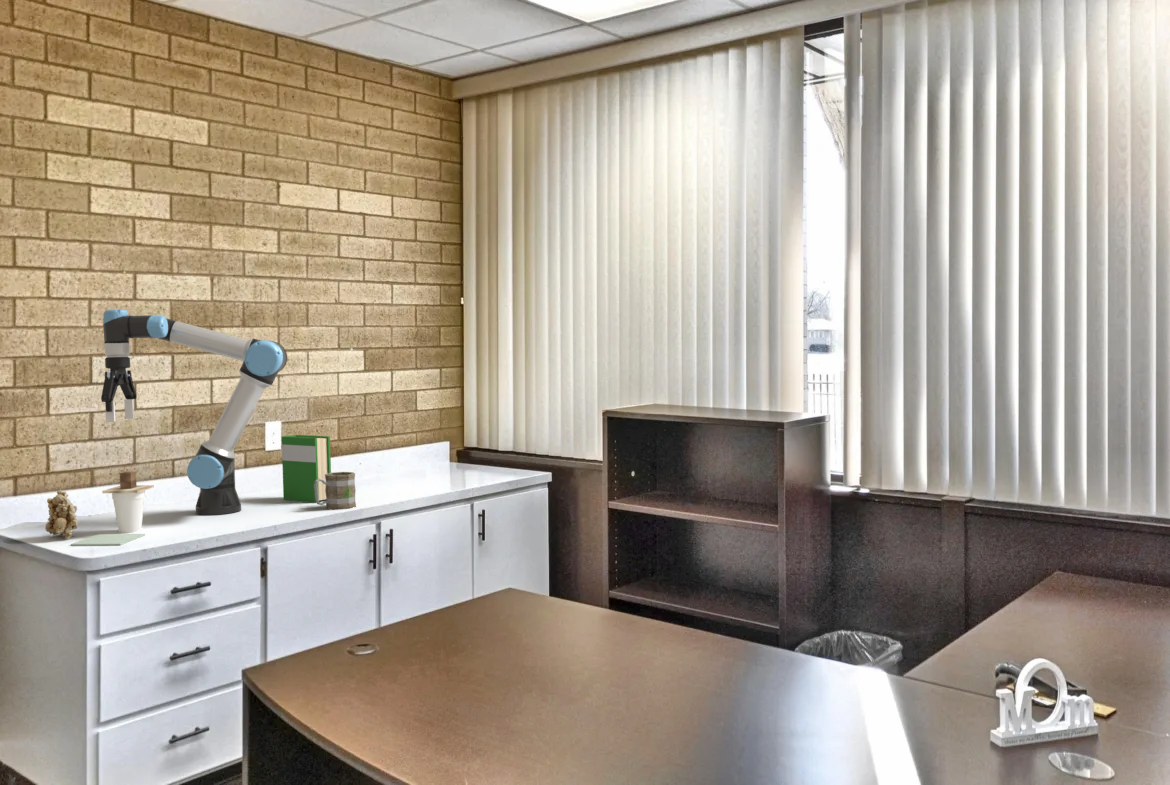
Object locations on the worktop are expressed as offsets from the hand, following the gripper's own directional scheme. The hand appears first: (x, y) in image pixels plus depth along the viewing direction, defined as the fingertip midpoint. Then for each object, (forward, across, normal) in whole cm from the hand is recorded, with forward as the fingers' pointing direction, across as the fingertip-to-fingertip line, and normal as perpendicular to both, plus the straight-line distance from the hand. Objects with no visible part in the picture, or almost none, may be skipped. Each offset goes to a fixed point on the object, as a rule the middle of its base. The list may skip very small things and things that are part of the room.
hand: (120, 420), depth 328 cm
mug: (+35, -20, +65) cm, 77 cm away
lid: (+21, +17, +10) cm, 29 cm away
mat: (+34, +32, +10) cm, 48 cm away
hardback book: (+35, -40, +50) cm, 73 cm away
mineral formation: (+34, +26, -7) cm, 44 cm away
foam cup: (+34, +17, +9) cm, 40 cm away
